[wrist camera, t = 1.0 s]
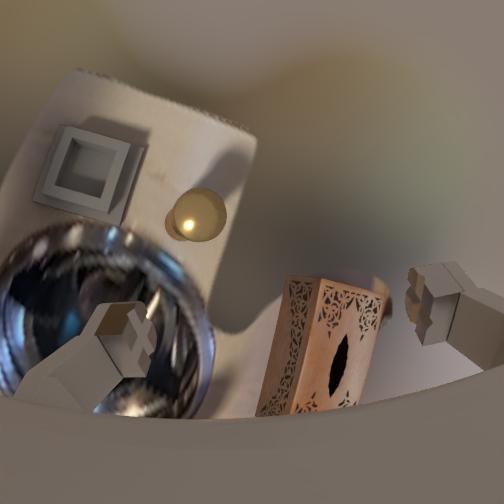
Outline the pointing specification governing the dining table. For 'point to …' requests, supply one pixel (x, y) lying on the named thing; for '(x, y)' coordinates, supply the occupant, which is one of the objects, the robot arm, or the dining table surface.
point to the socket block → (88, 174)
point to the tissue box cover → (320, 347)
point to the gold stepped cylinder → (196, 216)
